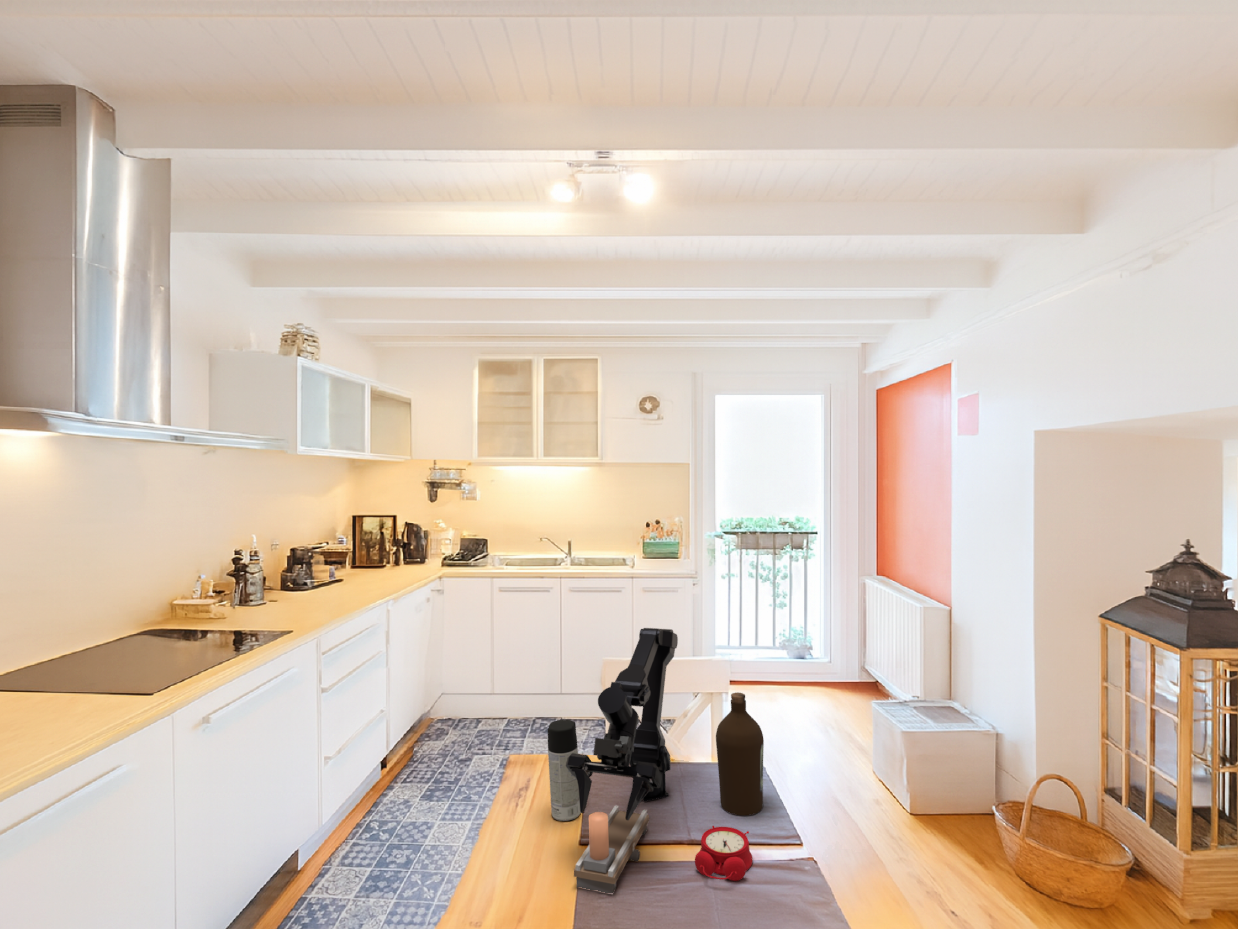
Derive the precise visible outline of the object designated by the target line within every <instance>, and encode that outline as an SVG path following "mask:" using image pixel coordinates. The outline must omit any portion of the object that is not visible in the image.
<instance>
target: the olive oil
mask: <svg viewBox="0 0 1238 929" xmlns="http://www.w3.org/2000/svg"><path fill="white" fill-rule="evenodd" d="M730 698H731V700H730V709H731V710H730V711H729V713H728V714H727V715H725V717H724V718H722V720H721V721H720V722H719V724H718V726H717V727H716V728H717V729H716V733H715V744H716V755H717V758H716V759H717V767H718V768H717V770H718V781H719V782H718V784H719V799H720V807H721V808H722V809H723V810H724V811H725V812H727V813H728V814H732V815H734V816H741V817H748V816H753V815H756V814H758V813H760V812H761V811H762V809H763V807H764V792H763V791H764V747H765V746H764V745H765V744H764V743H765V742H764V734H763V731H762V728H761V726H760V725H759V723H758V722H757V721H756V720H755V719H754V718H753V717H752V716H751V715H750V714H749V713H748V712H747V701H746V694H745V693H743V692H732V693H731V694H730Z"/></svg>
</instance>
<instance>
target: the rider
mask: <svg viewBox="0 0 1238 929" xmlns="http://www.w3.org/2000/svg"><path fill="white" fill-rule="evenodd" d="M608 815H609V814H608V813H606V812H603V811H594V812H592V813H591V814H589V815H588V837H589V838H588V840H589V841H588V842H589V843H588V845H590V851H589V853H588V854H587V856H586V857H585V859H584V860H583V861H584V869H586V870H592V871H597V872H603V873H607V871H608V869H609V867H610V866H611V864H612V862H613V860H614V859H615V849H613V848H609V836H608Z"/></svg>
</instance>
